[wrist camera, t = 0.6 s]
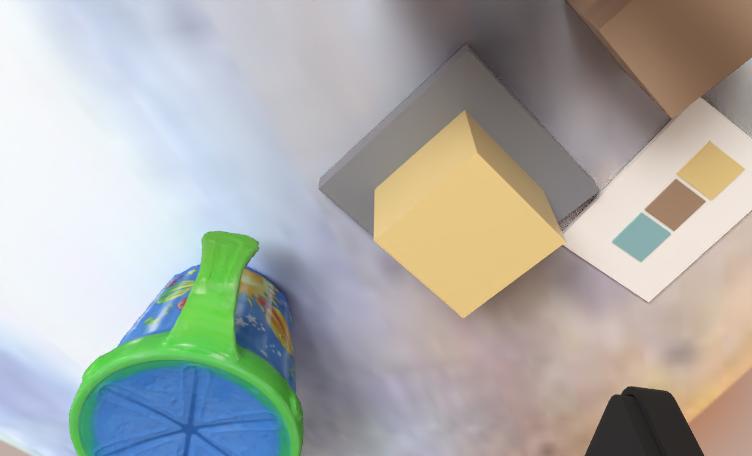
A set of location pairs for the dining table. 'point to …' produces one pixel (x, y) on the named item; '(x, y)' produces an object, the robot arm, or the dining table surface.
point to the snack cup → (198, 369)
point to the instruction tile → (668, 202)
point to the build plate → (436, 112)
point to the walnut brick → (672, 43)
